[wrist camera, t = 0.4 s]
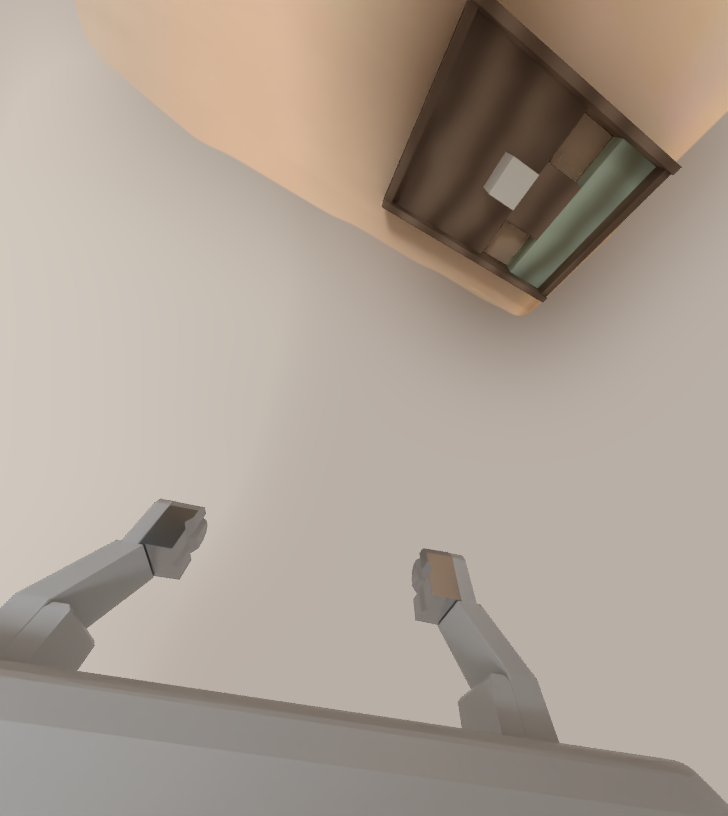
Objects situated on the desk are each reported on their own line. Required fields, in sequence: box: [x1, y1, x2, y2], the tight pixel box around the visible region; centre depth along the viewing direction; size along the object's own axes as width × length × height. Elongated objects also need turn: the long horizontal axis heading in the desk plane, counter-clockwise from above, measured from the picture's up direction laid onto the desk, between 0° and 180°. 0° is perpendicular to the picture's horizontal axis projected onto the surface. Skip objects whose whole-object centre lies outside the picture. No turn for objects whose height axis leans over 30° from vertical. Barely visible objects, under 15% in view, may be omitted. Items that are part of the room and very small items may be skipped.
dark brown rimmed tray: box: [382, 0, 681, 302], centre depth 38 cm, size 30×19×5 cm, turn 65°
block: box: [483, 152, 539, 210], centre depth 36 cm, size 4×4×4 cm
